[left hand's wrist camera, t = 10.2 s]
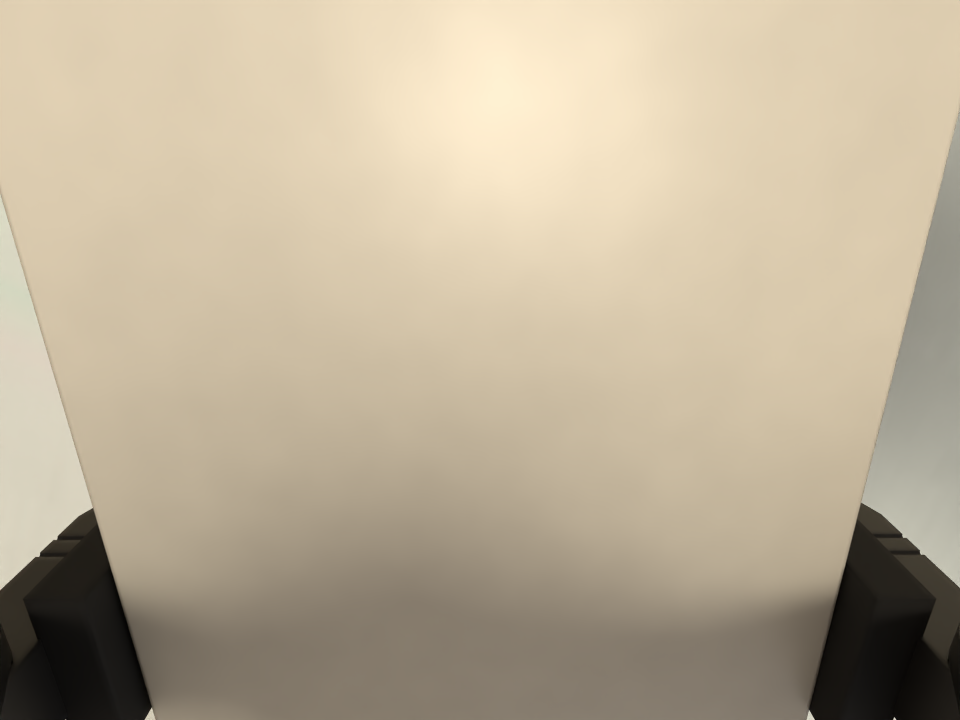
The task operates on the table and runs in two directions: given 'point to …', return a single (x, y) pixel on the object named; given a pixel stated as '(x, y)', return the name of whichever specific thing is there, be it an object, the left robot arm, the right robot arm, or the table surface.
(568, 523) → the thick board
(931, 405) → the table surface
